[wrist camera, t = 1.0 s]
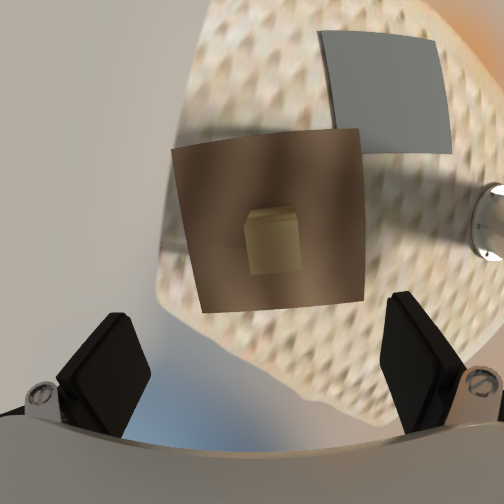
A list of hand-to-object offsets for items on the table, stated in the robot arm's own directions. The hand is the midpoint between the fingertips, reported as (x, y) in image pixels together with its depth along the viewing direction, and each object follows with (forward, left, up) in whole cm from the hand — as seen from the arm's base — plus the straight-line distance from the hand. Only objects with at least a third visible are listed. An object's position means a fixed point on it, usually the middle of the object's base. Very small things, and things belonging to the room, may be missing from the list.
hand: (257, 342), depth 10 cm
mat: (-17, -13, -29) cm, 36 cm away
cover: (0, 0, -29) cm, 29 cm away
